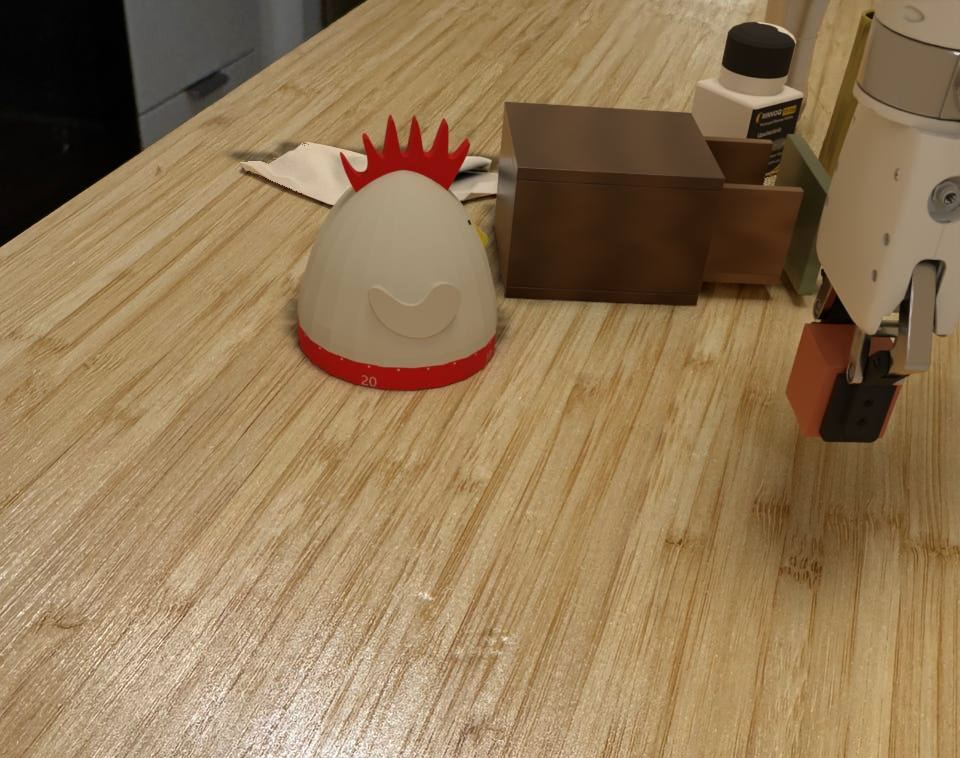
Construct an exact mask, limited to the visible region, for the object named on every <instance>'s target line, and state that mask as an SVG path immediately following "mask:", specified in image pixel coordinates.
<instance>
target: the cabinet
mask: <svg viewBox="0 0 960 758" xmlns="http://www.w3.org/2000/svg"><path fill="white" fill-rule="evenodd" d="M497 174H498V184H497V193H496V198H495V207H494V220H493V226H494V232H495V239H496V245H497V252H498V260H499V266H500V272H501V279H502V286H503V293H504V297H505V298H509V299H510V298H511V299H512V298H514V299H533V300H534V299H535V300H536V299H537V300H557V301H559V300H560V301H583V302H602V303H603V302H605V303H623V304H624V303H626V304H631V303H632V304H647V305H648V304H651V305H671V306H672V305H673V306H674V305H675V306H694V307H695V306H697V305H698V301H699V298H700V297H699V296H700V293H701V288H702V283H703V282H702V279H703V274H704V270H705V265H706V261H707V257H708V252H709V248H710V243H711V239H712V234H713V230H714V225H715V221H716V217H717V212H718V208H719V203H720V199H721V194H722V190H723V186H724V182H725V177H724V175H723V173H722V171H721V170H720V168H719V166H718V164H717V162H716V160H715V158H714V156H713V154H712V152H711V150H710V148H709V146H708V144H707V143H706V141H705V139H704V137H703V135H702V133H701V131H700V129H699V127H698V125H697V123H696V121H695V119H694V117H693V116H692V114H691V112H686V111H684V112H683V111H667V110H650V109H633V108H632V109H631V108H619V107H617V108H616V107H601V106H584V105H569V104H568V105H567V104H552V103H551V104H549V103H536V102H535V103H534V102H518V101H517V102H516V101H504V103H503V115H502V128H501V140H500V151H499V161H498V173H497Z"/></svg>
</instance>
